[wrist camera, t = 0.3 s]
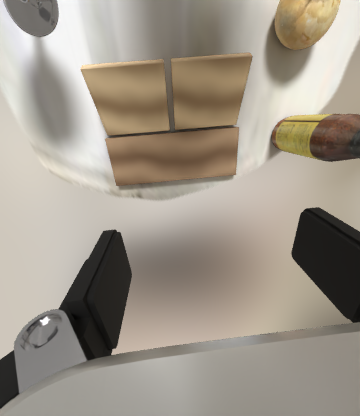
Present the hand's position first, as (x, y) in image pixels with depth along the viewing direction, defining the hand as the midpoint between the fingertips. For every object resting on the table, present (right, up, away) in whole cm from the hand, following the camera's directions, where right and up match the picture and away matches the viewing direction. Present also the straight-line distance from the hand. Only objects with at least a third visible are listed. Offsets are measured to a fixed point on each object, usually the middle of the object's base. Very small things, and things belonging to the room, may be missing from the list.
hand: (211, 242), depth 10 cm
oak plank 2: (+3, +20, +20) cm, 29 cm away
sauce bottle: (+19, +16, +26) cm, 36 cm away
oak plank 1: (-9, +19, +20) cm, 29 cm away
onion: (+16, +31, +19) cm, 39 cm away
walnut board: (-3, +12, +27) cm, 29 cm away
